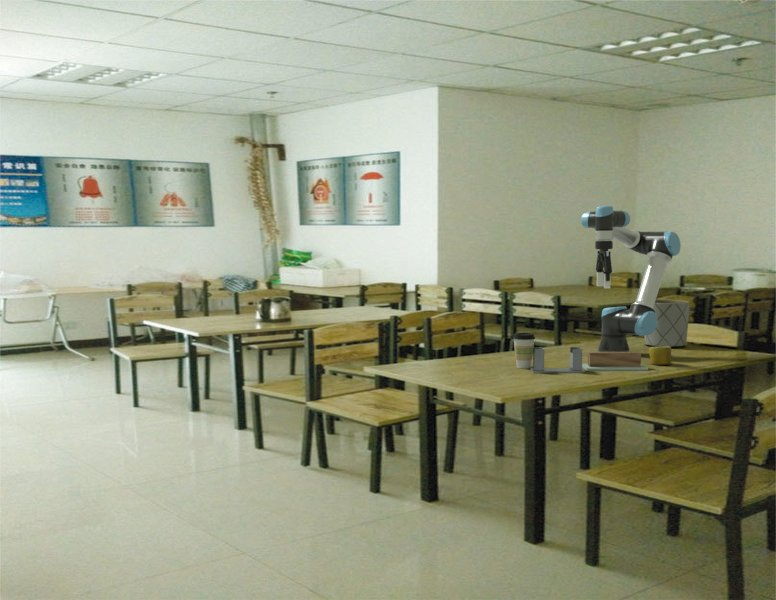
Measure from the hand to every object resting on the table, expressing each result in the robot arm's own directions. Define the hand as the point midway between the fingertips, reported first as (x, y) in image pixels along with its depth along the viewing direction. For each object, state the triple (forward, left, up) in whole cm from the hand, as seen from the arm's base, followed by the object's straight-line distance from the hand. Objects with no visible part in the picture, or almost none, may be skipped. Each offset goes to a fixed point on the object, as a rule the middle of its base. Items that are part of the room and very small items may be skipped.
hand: (603, 287), depth 342 cm
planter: (-53, +45, -35) cm, 78 cm away
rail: (+13, +2, -34) cm, 36 cm away
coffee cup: (+10, -37, -35) cm, 52 cm away
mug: (+2, +25, -35) cm, 43 cm away
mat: (+13, +2, -35) cm, 37 cm away
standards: (+20, -24, -35) cm, 47 cm away
